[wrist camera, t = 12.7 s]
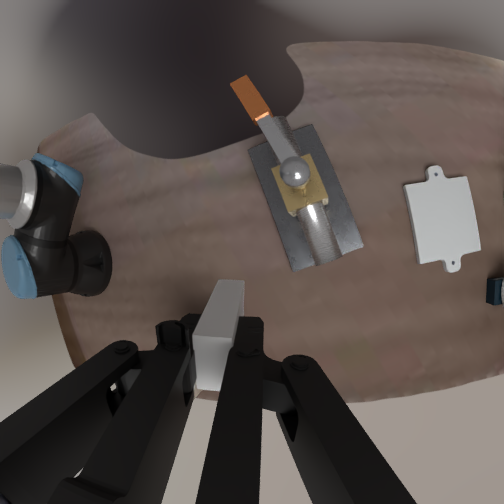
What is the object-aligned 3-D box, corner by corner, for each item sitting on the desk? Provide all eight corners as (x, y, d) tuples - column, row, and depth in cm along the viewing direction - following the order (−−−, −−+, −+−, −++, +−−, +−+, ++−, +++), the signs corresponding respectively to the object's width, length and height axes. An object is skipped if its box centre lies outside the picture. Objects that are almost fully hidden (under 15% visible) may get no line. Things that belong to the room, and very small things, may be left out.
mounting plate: (398, 173, 42) (401, 170, 40) (458, 165, 38) (462, 162, 37) (418, 278, 41) (422, 279, 39) (477, 263, 38) (482, 264, 36)
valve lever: (315, 180, 31) (315, 176, 30) (290, 193, 32) (287, 190, 30) (252, 80, 33) (249, 73, 31) (231, 92, 34) (226, 85, 32)
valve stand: (362, 246, 43) (378, 245, 30) (294, 271, 46) (281, 281, 33) (312, 127, 45) (306, 86, 31) (250, 152, 48) (222, 120, 34)
